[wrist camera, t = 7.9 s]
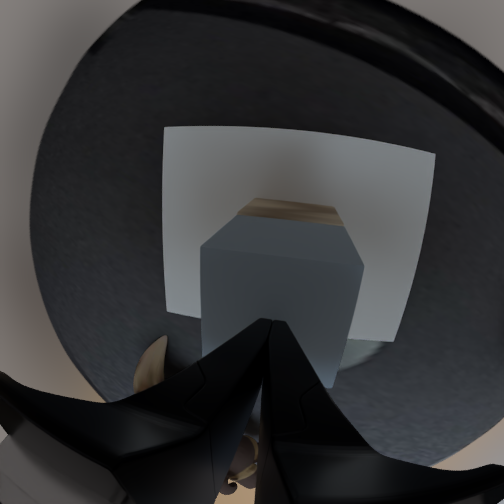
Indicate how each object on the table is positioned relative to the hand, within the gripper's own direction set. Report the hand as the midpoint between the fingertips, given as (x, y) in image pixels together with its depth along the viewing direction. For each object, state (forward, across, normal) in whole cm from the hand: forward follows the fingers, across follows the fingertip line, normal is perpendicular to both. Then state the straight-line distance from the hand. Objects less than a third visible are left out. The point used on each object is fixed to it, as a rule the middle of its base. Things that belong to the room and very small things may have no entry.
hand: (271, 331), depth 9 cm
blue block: (+5, 0, 0) cm, 5 cm away
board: (+11, 0, 0) cm, 11 cm away
